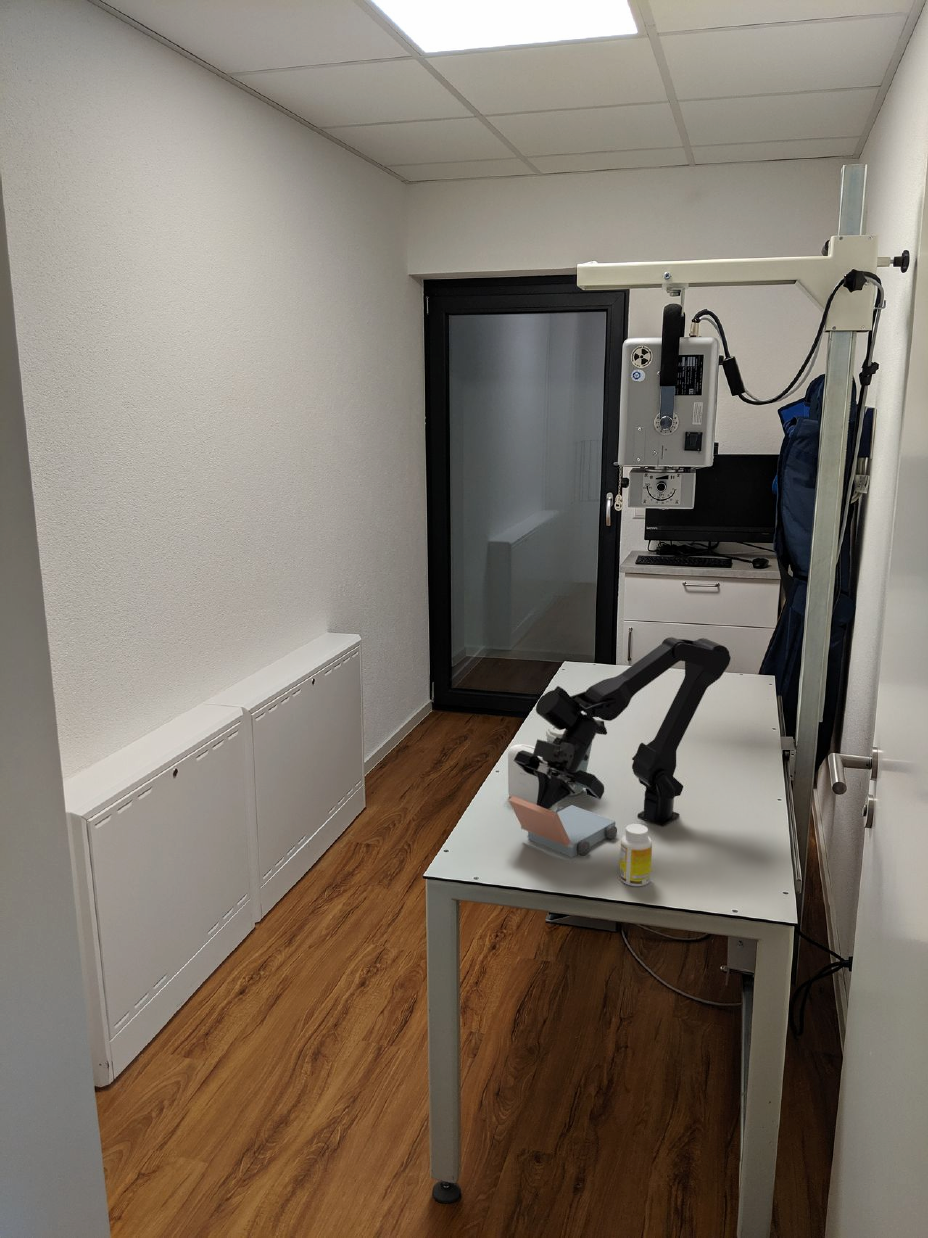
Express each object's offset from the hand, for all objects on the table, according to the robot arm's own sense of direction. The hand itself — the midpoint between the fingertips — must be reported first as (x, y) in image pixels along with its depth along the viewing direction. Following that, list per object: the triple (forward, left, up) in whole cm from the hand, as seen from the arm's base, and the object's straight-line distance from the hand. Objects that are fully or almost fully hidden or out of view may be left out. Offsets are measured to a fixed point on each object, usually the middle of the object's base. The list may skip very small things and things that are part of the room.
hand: (538, 813), depth 181 cm
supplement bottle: (-4, +19, -9) cm, 22 cm away
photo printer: (-17, -17, -9) cm, 26 cm away
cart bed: (-10, 0, -9) cm, 14 cm away
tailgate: (-2, 0, -6) cm, 6 cm away
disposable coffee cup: (-27, -14, -9) cm, 32 cm away
